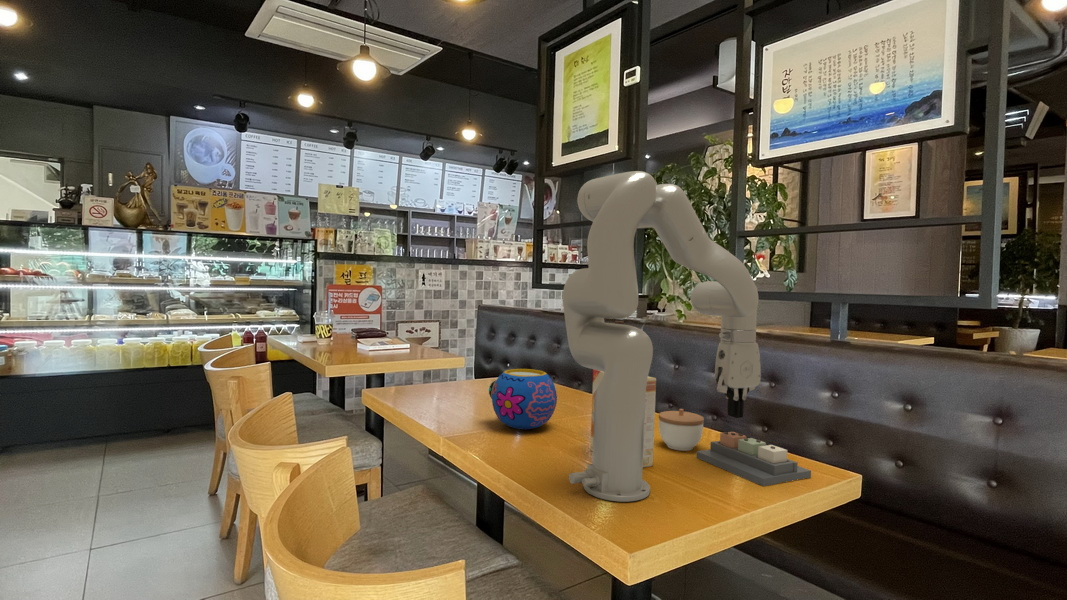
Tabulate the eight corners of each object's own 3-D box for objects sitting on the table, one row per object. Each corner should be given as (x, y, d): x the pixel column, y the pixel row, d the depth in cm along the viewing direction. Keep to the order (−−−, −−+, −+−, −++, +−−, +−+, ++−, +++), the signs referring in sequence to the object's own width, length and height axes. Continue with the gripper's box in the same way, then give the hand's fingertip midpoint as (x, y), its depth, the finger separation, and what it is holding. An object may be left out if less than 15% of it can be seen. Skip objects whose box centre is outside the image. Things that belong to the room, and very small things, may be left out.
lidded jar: (692, 457, 128) (694, 416, 127) (650, 447, 134) (651, 409, 134) (709, 446, 136) (710, 409, 136) (668, 438, 143) (669, 402, 142)
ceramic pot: (527, 416, 161) (529, 365, 161) (569, 430, 147) (571, 374, 147) (477, 424, 150) (479, 369, 149) (517, 440, 136) (519, 380, 136)
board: (763, 486, 110) (763, 469, 110) (696, 457, 127) (697, 442, 127) (810, 477, 116) (811, 461, 116) (741, 451, 133) (741, 437, 133)
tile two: (752, 455, 119) (752, 443, 119) (738, 450, 122) (738, 438, 122) (765, 453, 121) (766, 441, 121) (751, 448, 124) (751, 436, 124)
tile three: (732, 448, 124) (733, 436, 124) (719, 443, 127) (720, 431, 127) (745, 446, 126) (746, 434, 125) (732, 441, 129) (733, 430, 129)
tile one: (773, 463, 114) (774, 450, 114) (757, 457, 118) (758, 445, 117) (786, 461, 116) (787, 448, 116) (771, 455, 119) (771, 443, 119)
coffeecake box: (588, 450, 130) (592, 368, 129) (613, 447, 133) (616, 366, 133) (627, 470, 117) (631, 379, 116) (654, 466, 120) (657, 377, 119)
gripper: (725, 339, 119) (722, 423, 120) (774, 337, 126) (771, 417, 126) (701, 336, 126) (698, 415, 127) (749, 334, 132) (746, 410, 133)
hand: (735, 416), depth 127 cm, fingers closed
